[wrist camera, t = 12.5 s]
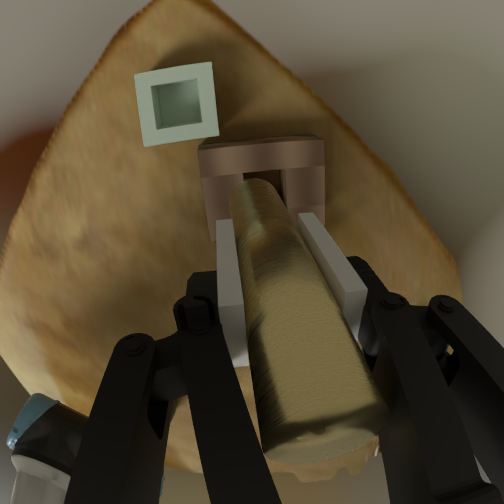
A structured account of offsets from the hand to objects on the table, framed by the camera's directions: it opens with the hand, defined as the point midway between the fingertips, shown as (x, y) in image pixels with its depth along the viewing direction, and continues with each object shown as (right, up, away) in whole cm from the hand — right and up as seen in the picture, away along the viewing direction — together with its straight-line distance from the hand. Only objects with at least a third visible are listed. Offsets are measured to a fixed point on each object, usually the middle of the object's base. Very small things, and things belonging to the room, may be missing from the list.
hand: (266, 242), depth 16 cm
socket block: (0, +8, +24) cm, 25 cm away
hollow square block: (-9, +17, +18) cm, 26 cm away
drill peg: (-1, +3, +5) cm, 6 cm away
